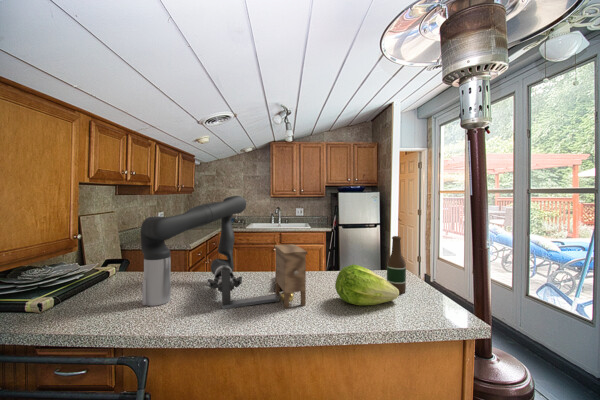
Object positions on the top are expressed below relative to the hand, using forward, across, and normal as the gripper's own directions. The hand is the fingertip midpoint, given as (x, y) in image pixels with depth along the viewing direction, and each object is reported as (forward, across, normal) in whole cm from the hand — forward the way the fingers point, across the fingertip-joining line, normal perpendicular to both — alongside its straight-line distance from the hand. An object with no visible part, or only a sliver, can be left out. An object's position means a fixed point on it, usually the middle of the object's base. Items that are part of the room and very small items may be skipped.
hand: (226, 288), depth 99 cm
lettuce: (+10, +53, +8) cm, 54 cm away
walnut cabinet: (-3, +25, +8) cm, 26 cm away
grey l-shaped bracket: (-3, +9, +7) cm, 12 cm away
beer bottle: (+3, +72, +8) cm, 72 cm away
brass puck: (-3, +24, +8) cm, 25 cm away
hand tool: (-24, +26, +8) cm, 36 cm away
